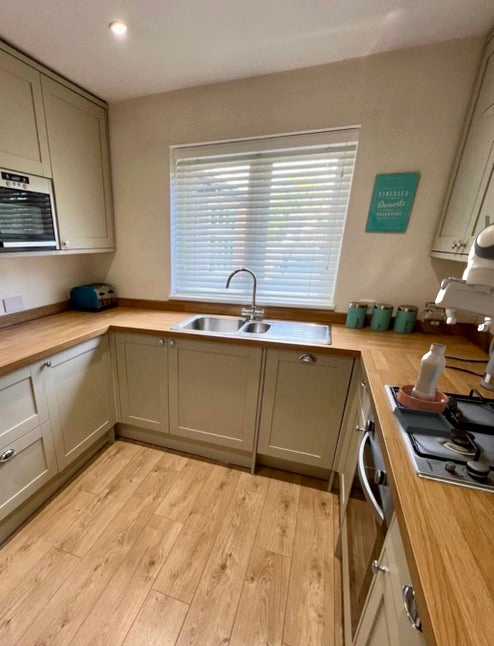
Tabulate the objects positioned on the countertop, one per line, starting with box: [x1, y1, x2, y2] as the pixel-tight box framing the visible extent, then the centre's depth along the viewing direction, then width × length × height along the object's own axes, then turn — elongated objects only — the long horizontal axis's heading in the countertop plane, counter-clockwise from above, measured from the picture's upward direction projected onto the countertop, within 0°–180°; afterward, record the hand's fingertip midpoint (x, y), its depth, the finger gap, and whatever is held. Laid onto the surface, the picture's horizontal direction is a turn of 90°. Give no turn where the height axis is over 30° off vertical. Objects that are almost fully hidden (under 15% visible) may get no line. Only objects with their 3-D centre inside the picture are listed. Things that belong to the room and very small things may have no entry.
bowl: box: [396, 383, 450, 414], centre depth 107 cm, size 13×13×4 cm
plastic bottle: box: [411, 343, 447, 402], centre depth 104 cm, size 6×7×20 cm
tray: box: [393, 406, 456, 439], centre depth 96 cm, size 12×11×2 cm
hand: (466, 327), depth 101 cm, fingers open, 8 cm apart
